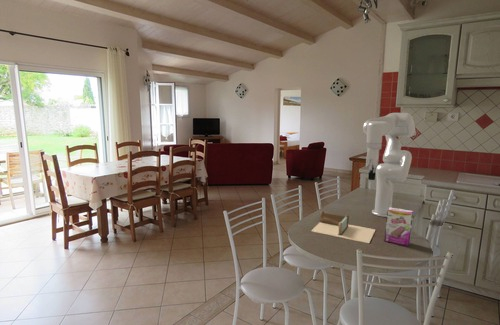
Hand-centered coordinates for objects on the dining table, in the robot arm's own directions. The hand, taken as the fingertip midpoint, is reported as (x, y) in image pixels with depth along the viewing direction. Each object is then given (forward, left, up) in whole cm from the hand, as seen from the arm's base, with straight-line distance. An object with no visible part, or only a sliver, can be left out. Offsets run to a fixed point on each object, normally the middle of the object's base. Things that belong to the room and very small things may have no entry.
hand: (371, 179), depth 166 cm
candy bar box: (+16, +16, -27) cm, 35 cm away
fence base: (+9, -17, -26) cm, 33 cm away
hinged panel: (+16, -10, -26) cm, 32 cm away
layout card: (+15, -10, -26) cm, 32 cm away
